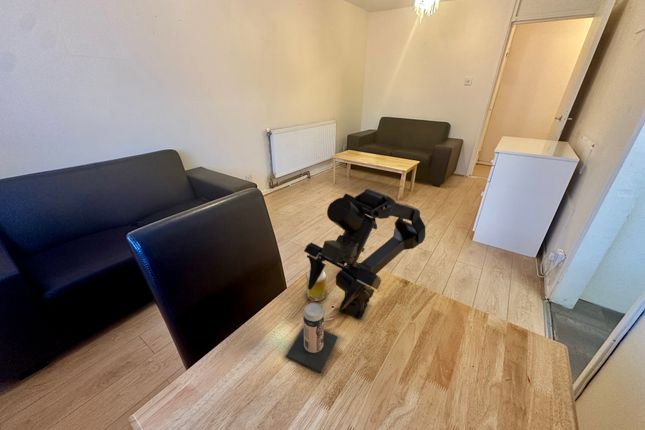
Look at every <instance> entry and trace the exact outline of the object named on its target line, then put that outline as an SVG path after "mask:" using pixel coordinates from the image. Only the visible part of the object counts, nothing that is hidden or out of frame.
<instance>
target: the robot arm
mask: <svg viewBox="0 0 645 430" xmlns="http://www.w3.org/2000/svg"><path fill="white" fill-rule="evenodd" d="M326 215H327V218H328V219H329V220H330V221H331V222H332V223H334V224H335V225H336V226H338V227H339V228H340V229H341V230H342V231H343V233H342V234H339V235H338V236H337V238H336V239H330V240H324V242H323V245H322V246H319V245H317V244H316V243H314V242H310V243H308V244H307V245H306V246H305V248H304V250H303V252H304V253H306V258H308V260H309V264H310V266H311V267H310V266H309V269H310V277H309V284H308V289H309V290H311V289H312V288H313V286H314V285H315V283H316V281H317V280H318V278H319V276H320V274H321V272H322V271H324V269H325V268H326V263H324V262H327V263H329V264H331V265H333V266H335V267H337V268H339V269H340V270H339V271H337V273H336V274H335V285H336V287H338V288H339V289H341V290H342V291H343V292H344V297H343V300H342V301H341V303H340V306H339V313H340V314H343V315H346V316H349V317H352V318H354V319H357V320H359V321H361V320H362V319H363V316H364V314H365V311H366V309H367V307H368V303H370V299H371V298H372V297H373V295H374V293H375V290H376V291H377V290H378V289H379V287H380V286H381V283H382V279H381V276H379V275H377V274H378V273H379V272H380V271H381V270H382V269H384V268H385V267H386V266H387V265H389V263H390V262H392V261H393V260H394V259H395V258H396V257H397V256H398V255H400V254H401V253H402V252H403V251H406V250H413V249H415V248H416V247H418V246H419V245H421V244H422V243H424V240H425V238H426V225H425V223H424V221H423V219H422V218H421V211H420V210H419V209H418V207H417V208H416V207H414V206H412V205H408V204H403V203H400V202H397V201H396V200H395V199H393V198H392V197H391V196H389V195H387V194H384V193H382V192H379V191H376V190H374V189H371V188H366V189H364V191H363V192H361V193H359V194H357V195H356V196H353V195H352V194H349V193H345V194H344V195H343V197H338V198H336V199H334V200H333V201H332V202H330V204H328V206H327V210H326ZM390 217H393V218H397V219H396V220H395V222H394V228H393V235H392V237H391V238H389V239H388V240H387V241H385V242H384V243H383V244H382V245H381V246H379V247H378V248H377V249H376V250H375V251H373V252H372V253H371V254H370V255H368V256H367V257H366V258H365V259H364V260H362V261H361V262H358V260H359V257H360V255H361V253H364V251H365V250H366V249H365V245H366V243H367V241H368V239H369V237H370V235H371V233H372V231H373V230H377V229H378V224H377V221H376V220H377V219H380V220H384V219H389V218H390ZM406 220H407V221H406ZM409 221H410V222H409ZM345 264H346V265H345Z"/></svg>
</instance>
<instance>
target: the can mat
mask: <svg viewBox="0 0 645 430" xmlns="http://www.w3.org/2000/svg"><path fill="white" fill-rule="evenodd" d="M338 338H339V337H338V335H336V334H333V333H330V332H328V331H325V330H324V331H323V347H322V349H321V350H320V351H318V352H315V353H311V352H309V351H307V350H306V349H305V347H304V327H303V328H302V330H301V331H300V333H299V335H298V336H297V338H296V339H295V340H294V343H293V344H292V346H291V347H290V349H289V350H288V352H287V354H286V355H285V357H286V358H288V359H290V360H292V361H294V362H296V363H299V364H301V365H303V366H305V367H307V368H309V369H311V370H313V371H315V372H317V373H320V374H322V372H323V370H324V367H325V365H326V364H327V361H328V360H329V357H330V355H331V353H332V351H333V349H334V347H335V344H336V342H337V341H338Z"/></svg>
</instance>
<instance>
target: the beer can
mask: <svg viewBox="0 0 645 430" xmlns="http://www.w3.org/2000/svg"><path fill="white" fill-rule="evenodd" d="M302 316H303V318H302V319H303V328H304V347H305V349H306V350H307V351H309V352H311V353H315V352H318V351H320V350H321V349H322V347H323V331H325V330H324V329H325V328H324V327H325V326H324V325H325V309H324V308H323V306H322V305H321V304H320V303H317V302H310V303H308V304H307V305H306V306H305V307H304V309H303V311H302Z"/></svg>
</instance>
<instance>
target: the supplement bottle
mask: <svg viewBox="0 0 645 430" xmlns="http://www.w3.org/2000/svg"><path fill="white" fill-rule="evenodd" d="M310 267H311V265H310V266H309V269H308V271H307V272H306V296H307V298H308V299H309V300H310V301H312V302H313V301H314V302H319V301H321V300H323V299H324V298H325V296H326V282H327V281H326V280H327V279H326V278H327V277H326V272H325V271H324V270H323V271H322V272H321V274H320V276H319V278H318V280H317V281H316V283H315V285H314V286H313V288H312V289H311V290H309V289H308V284H309V277H310Z"/></svg>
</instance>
